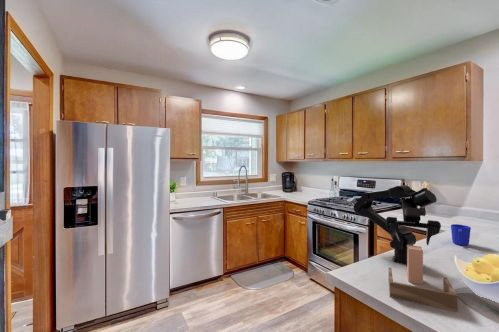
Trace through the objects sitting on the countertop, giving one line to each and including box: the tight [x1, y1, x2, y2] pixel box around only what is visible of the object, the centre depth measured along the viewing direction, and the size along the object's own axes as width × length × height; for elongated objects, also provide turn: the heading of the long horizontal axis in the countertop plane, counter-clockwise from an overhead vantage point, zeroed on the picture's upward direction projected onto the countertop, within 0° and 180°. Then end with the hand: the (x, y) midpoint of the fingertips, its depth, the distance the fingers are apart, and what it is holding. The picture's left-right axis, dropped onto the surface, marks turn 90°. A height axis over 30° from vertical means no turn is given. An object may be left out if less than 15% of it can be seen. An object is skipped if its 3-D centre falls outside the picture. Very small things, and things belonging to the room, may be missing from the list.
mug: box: [450, 223, 472, 247], centre depth 129 cm, size 8×12×10 cm
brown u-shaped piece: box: [387, 266, 459, 313], centre depth 83 cm, size 13×18×5 cm
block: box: [406, 245, 424, 285], centre depth 92 cm, size 4×4×13 cm
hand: (413, 243), depth 95 cm, fingers open, 9 cm apart
